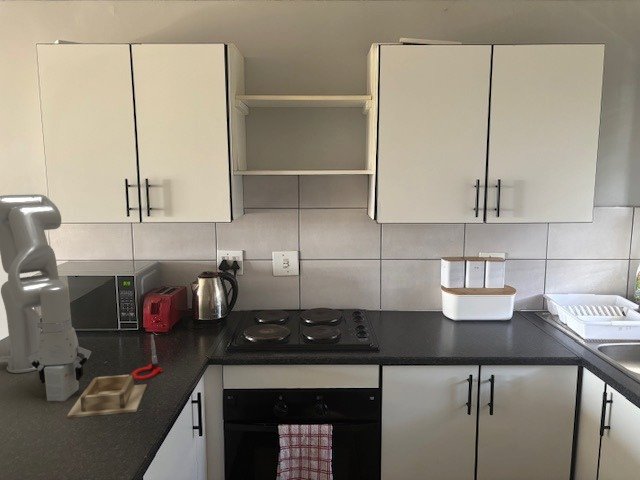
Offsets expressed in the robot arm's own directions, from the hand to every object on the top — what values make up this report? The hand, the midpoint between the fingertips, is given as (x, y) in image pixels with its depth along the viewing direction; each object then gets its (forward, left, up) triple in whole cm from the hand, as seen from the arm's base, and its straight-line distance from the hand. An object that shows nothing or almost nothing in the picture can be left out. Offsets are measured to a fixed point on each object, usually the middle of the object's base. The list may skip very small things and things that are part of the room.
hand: (62, 380), depth 140 cm
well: (+15, -7, -5) cm, 17 cm away
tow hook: (+22, +11, -5) cm, 25 cm away
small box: (0, 0, -5) cm, 5 cm away
